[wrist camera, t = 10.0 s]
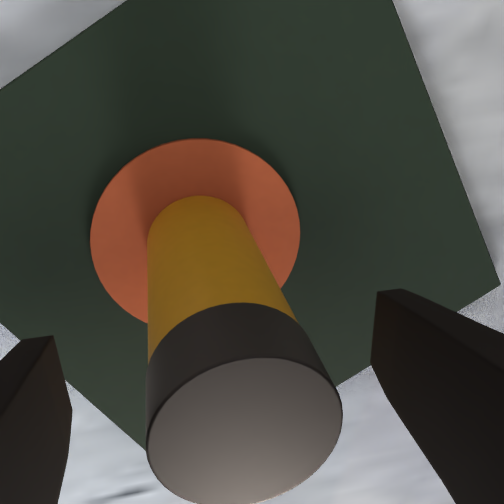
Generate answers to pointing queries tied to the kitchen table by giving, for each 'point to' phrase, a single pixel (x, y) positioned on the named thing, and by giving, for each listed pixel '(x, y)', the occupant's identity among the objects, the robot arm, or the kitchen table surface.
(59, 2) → the kitchen table surface
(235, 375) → the glue stick
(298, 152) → the mat
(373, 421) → the kitchen table surface
